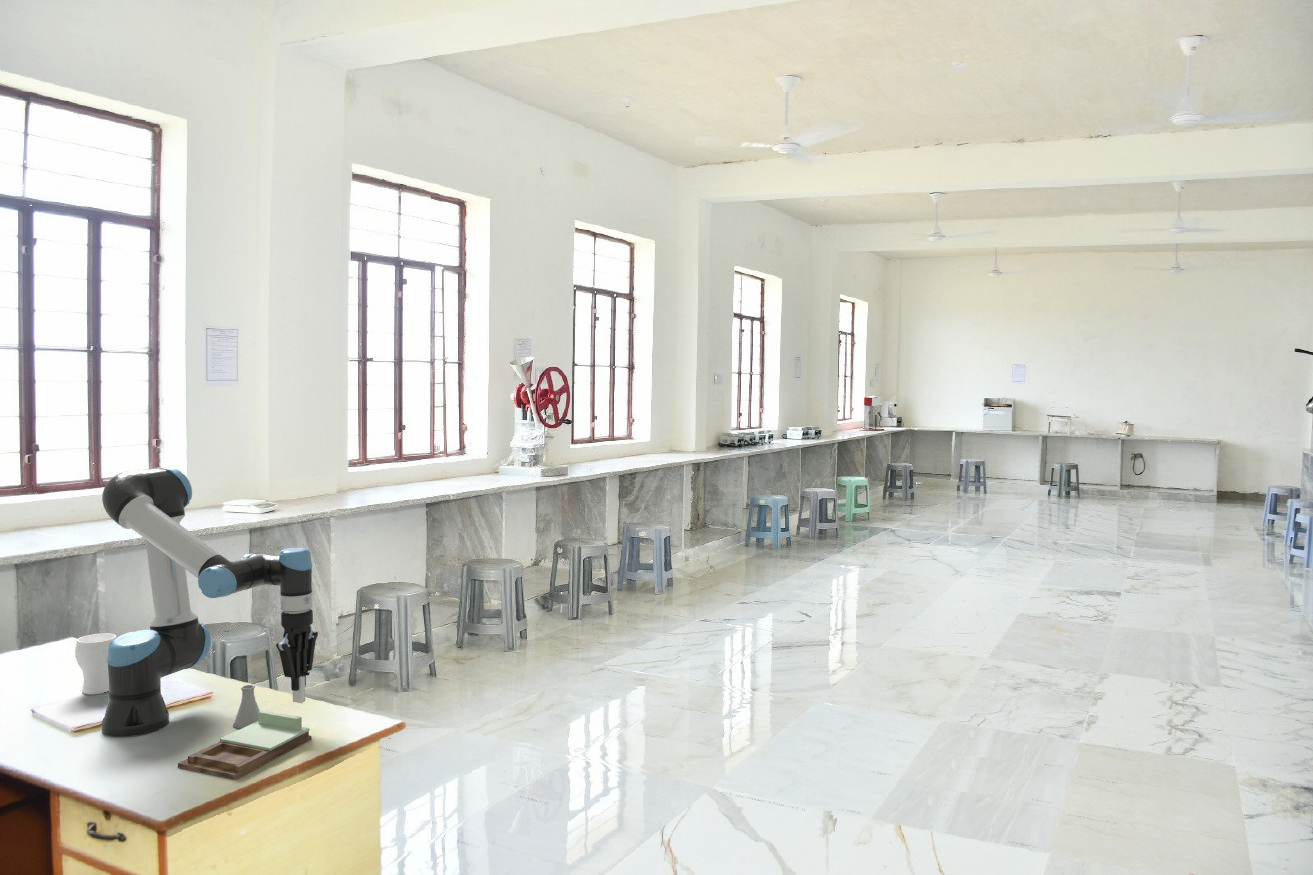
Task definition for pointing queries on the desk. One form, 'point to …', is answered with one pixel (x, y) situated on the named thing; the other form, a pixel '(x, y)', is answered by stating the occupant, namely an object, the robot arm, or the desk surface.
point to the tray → (236, 757)
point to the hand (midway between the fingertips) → (299, 701)
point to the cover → (268, 731)
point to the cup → (94, 661)
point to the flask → (247, 708)
